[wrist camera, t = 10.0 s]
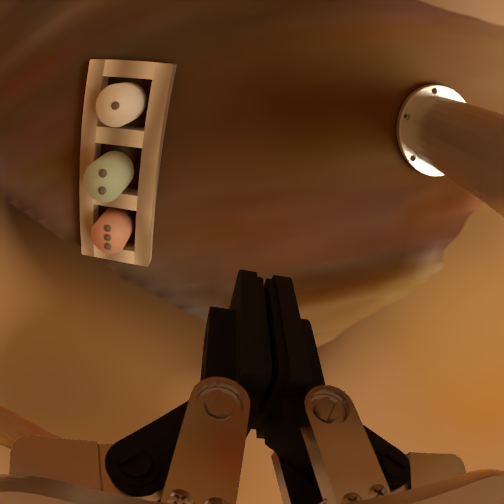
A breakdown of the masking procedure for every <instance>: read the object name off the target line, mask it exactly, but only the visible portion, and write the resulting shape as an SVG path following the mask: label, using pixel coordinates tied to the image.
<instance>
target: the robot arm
mask: <svg viewBox="0 0 504 504" xmlns="http://www.w3.org/2000/svg"><path fill="white" fill-rule="evenodd" d="M404 115H405V117H404ZM396 134H397V141H398V145H399V148H400V151H401V153H402V155H403V156H404V158H405V160H406V161H407V162H408V163H409V165H411V166H412V167H413V168H414V169H416V170H417V171H419V172H420V173H422V174H425V175H428V176H434V177H435V176H443V175H446V176H447V177H449V178H450V179H452V180H453V181H455V182H456V183H458V184H459V185H461V186H462V187H464V188H465V189H466V190H468V191H469V192H471V193H472V194H473V195H475V196H476V197H478V198H479V199H480V200H482V201H483V202H485V203H486V204H487V205H489V206H490V207H491V208H492V209H494V210H495V211H496V212H498V213H499V214H500V215H501V216H503V217H504V115H503V114H500V113H497V112H494V111H491V110H488V109H485V108H481V107H478V106H475V105H471V104H468V103H466V102H465V100H464V99H463V98H462V97H461V96H460V95H459V94H458V93H457V92H456V91H454V90H453V89H451V88H449V87H446V86H443V85H437V84H430V85H424V86H422V87H420V88H417V89H416V90H415V91H413V92H412V93H411V94H410V95H409V96H408V97H407V98H406V100H405V101H404V103H403V105H402V106H401V109H400V112H399V115H398V119H397V130H396ZM250 429H256V433H257V438H264V439H265V444H266V445H267V446H268V447H269V448H271V457H272V461H273V465H274V469H275V473H276V477H277V481H278V485H279V488H280V492H281V496H282V500H283V503H284V504H504V471H501V470H495V469H482V470H476V471H471V472H468V473H466V471H465V466H464V463H463V462H462V460H461V459H460V458H459V457H457V456H456V455H453V454H436V453H414V452H409V453H408V454H403V453H402V452H401V451H400V450H399V449H397V448H396V447H394V446H393V445H391V444H390V443H388V442H387V441H386V440H384V439H383V438H381V437H380V436H378V435H377V434H375V433H374V432H373V431H371V430H370V429H368V428H367V427H366V426H364V425H363V424H362V422H361V420H360V417H359V415H358V413H357V410H356V409H355V406H354V404H353V402H352V400H351V399H350V397H349V396H348V395H347V394H346V393H345V392H344V391H342V390H340V389H339V388H337V387H334V386H330V385H325V382H324V377H323V373H322V370H321V365H320V360H319V356H318V353H317V348H316V344H315V340H314V336H313V332H312V327H311V324H310V321H309V320H306V319H301V318H300V314H299V309H298V305H297V300H296V296H295V292H294V287H293V283H292V279H291V278H290V277H283V276H277V275H274V276H273V277H272V279H268V278H267V279H266V281H265V284H264V285H263V278H261V277H257V272H252V271H246V270H239V272H238V276H237V280H236V284H235V288H234V292H233V296H232V300H231V304H230V308H229V309H224V308H218V307H211V306H210V309H209V314H208V319H207V325H206V331H205V338H204V347H203V357H202V369H201V381H200V382H199V383H198V384H197V385H195V386H194V388H193V390H192V392H191V395H190V399H189V400H188V401H187V402H185V403H184V404H182V405H180V406H179V407H177V408H175V409H174V410H172V411H170V412H169V413H167V414H165V415H164V416H162V417H160V418H159V419H157V420H155V421H154V422H152V423H150V424H148V425H146V426H145V427H143V428H141V429H139V430H138V431H136V432H134V433H132V434H130V435H129V436H127V437H125V438H123V439H121V440H120V441H118V442H116V443H115V444H98V441H86V440H71V439H61V438H52V437H44V436H36V435H24V436H22V437H20V438H18V439H17V440H16V441H15V442H14V444H13V445H12V449H11V452H10V472H9V474H8V475H5V474H3V475H0V504H236V500H237V494H238V487H239V481H240V474H241V468H242V461H243V454H244V447H245V440H246V437H247V435H248V433H249V432H250Z"/></svg>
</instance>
